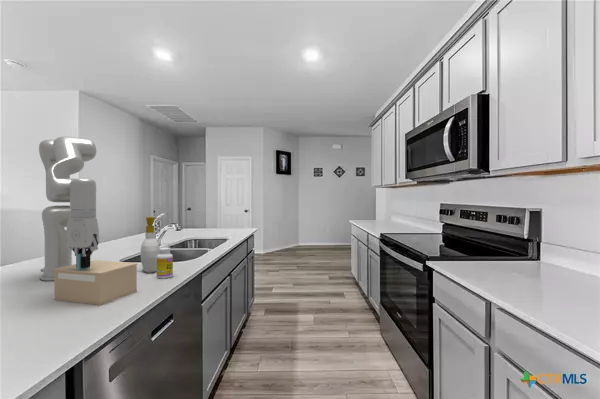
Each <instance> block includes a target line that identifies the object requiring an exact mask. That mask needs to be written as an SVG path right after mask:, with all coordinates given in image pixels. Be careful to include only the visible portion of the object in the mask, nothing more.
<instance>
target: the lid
mask: <svg viewBox="0 0 600 399" xmlns="http://www.w3.org/2000/svg"><path fill="white" fill-rule="evenodd" d="M81 257H82V254H77V268H76V263H75V264H72V265H69V266H65V267H60V268H56V269H54V271H63V272H74V273H85V274H96V275H102V274H106V273H110V272H113V271H117V270H121V269H124V268H128V267H132V266H135V265H138V262H126V261H124V262H123V261H112V260H111V261H109V260H100V259H99V260H97V259H93V260H90V267H87V268H81Z"/></svg>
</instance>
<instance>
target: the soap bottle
mask: <svg viewBox="0 0 600 399" xmlns="http://www.w3.org/2000/svg"><path fill="white" fill-rule="evenodd" d="M145 220H146V227H145V238H144V240H143V241H142V243H141V247H140V263H141V266H142V269H143V271H144V272H145V273H149V274H151V273H155V272H157V255H158V254H160V252H159V249H160V248H161V247H160V244H159V242H158V240H157V239H156V233H155V226H154V223H155V220H159V221H161V220H162V218H155V217H154V216H145Z"/></svg>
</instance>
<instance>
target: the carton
mask: <svg viewBox="0 0 600 399" xmlns="http://www.w3.org/2000/svg"><path fill="white" fill-rule="evenodd" d="M137 265H138V264H137ZM137 265H135V266H132V267H128V268H124V269H121V270H117V271H113V272H110V273H106V274H102V275H96V274H85V273H74V272H63V271H54V280H53V282H54V283H53V285H54V286H53V287H54V288H53V289H54V295H53V296H54V301H61V302H62V301H63V302H72V303H79V304H80V303H81V304H86V305H87V304H89V305H95V306H96V305H97V306H102V305H104V304H107V303H110V302H113V301H114V300H115V301H116V300H117V299H120V298H123V297H126V296H129V295H130V294H133V293H136V292H138V291H137V289H138V288H137V284H138V283H137V282H138V281H137V280H138V278H137V272H138V271H137V270H138V268H137Z"/></svg>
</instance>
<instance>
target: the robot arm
mask: <svg viewBox="0 0 600 399" xmlns="http://www.w3.org/2000/svg"><path fill="white" fill-rule="evenodd" d="M38 152H39V157H40V159H41V163H42V165H43V167H44V170H45V196H46V199H47V200H48V201H49V202H52V203H69V205H50V206H46V207H45V208H44V209H42V212H41V220H42V226H43V233H44V267H43V268H40V269H39V270H40V273H41V272H42V273H43V274H42V275H41V276H40V277H39V280H41V281H45V282H46V281H48V282H49V281H50V282H51V281H52V282H54V269H56V268H60V267H65V266H69V265H73V262H72V261H73V260H72V259H73V258H72V254H73V253H74V257H75V260H76V261H75V264H76V268H77V254H82V257H81V268H87V267H90V261H91V256H93V252H95V251H98V250H99V247H98V246H99V243H100V231H99V230H100V229H99V223H98V218H97V183H96V181H95V180H94V179H92V178H71V175H75V174H77V173H79V172H80V171H82V170H83V169H84V167H85V163H86V162H90V161H92V160H94V159H95V158H96V156H97V146H96V144H95V142H94V141H93V140H92V139H89V138H84V137H83V138H82V137H75V136H74V137H73V136H65V135H64V136H59V137H57V138H54V139H44V140H41V142H39V145H38ZM65 228H66V229H65ZM72 252H73V253H72Z"/></svg>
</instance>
